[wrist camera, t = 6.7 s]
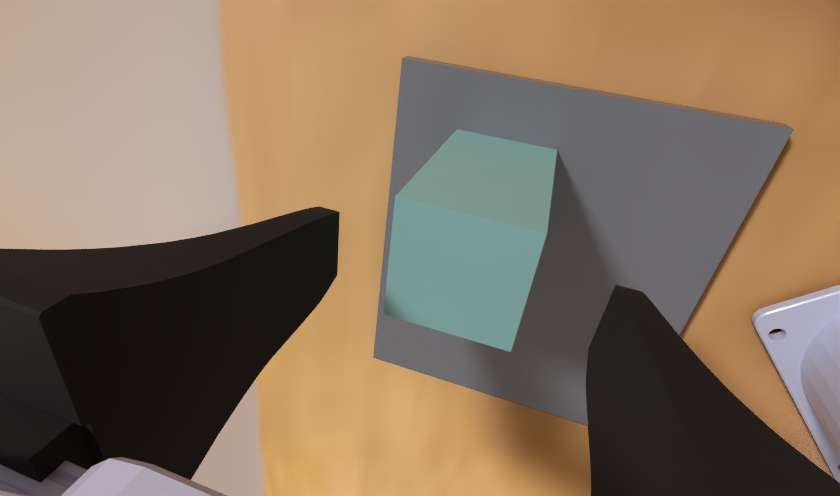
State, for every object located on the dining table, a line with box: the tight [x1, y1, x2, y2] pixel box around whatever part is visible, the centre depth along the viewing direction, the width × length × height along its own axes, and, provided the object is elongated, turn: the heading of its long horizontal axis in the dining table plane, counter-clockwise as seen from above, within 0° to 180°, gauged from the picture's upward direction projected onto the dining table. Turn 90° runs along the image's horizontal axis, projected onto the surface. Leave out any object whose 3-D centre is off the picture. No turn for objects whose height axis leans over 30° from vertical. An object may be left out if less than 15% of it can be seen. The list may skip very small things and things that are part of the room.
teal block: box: [383, 129, 557, 352], centre depth 14 cm, size 4×4×6 cm
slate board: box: [373, 56, 794, 426], centre depth 18 cm, size 14×12×1 cm
